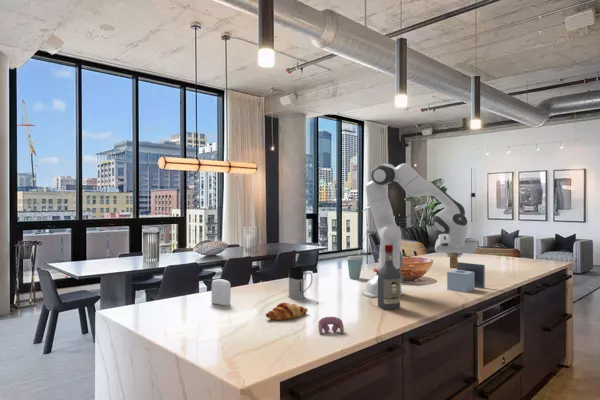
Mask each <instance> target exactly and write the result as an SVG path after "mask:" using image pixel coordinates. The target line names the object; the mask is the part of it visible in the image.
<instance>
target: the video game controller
mask: <svg viewBox="0 0 600 400" xmlns="http://www.w3.org/2000/svg"><path fill="white" fill-rule="evenodd" d="M343 323H344V322H343V320H342V319H341V318H340V317H336V316H325V317H321V318H320V319H319V320H318V325H317V328H318V333H319V335H322V334H323V331H324V332H325V333H328V332H329V331H330V326H329V325H332V326H331V330H332V332H333V331H334V333H337V331H339V332H340V334H342V333H343V334H344V332H345V330H344V329H345V328H344V324H343Z"/></svg>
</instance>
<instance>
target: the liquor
mask: <svg viewBox="0 0 600 400" xmlns="http://www.w3.org/2000/svg"><path fill="white" fill-rule="evenodd" d="M392 252H393V245H385V265H384V266H383V267H382V268H381V270H380V271H379V272H378V297H377V306H378V308H380V309H382V310H385V309H386V310H388V311H393V310H394V311H395V310H399V308H400V307H401V295H400V283H401V282H400V273H399V271H398V270H397V269H396V268H395V267H394V266H393V255H392ZM386 310H385V311H386Z"/></svg>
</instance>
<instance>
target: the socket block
mask: <svg viewBox="0 0 600 400" xmlns="http://www.w3.org/2000/svg"><path fill="white" fill-rule="evenodd" d="M446 275H447V277H446V280H447V281H446V284H447V285H446V287H447V290H449V291H455V292H462V293H469V292H471V291H474V290H475V287H474V272H471V271H462V270H457V269H454V270H450V271H447V273H446Z"/></svg>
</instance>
